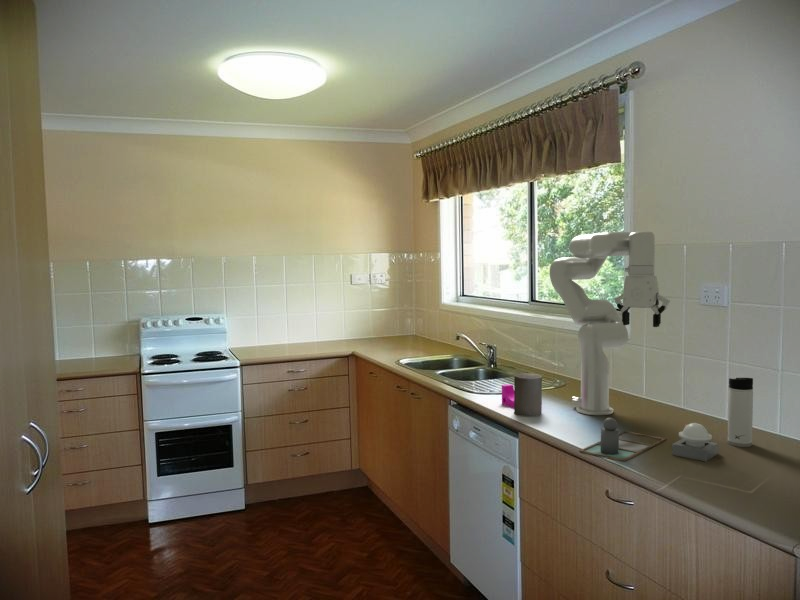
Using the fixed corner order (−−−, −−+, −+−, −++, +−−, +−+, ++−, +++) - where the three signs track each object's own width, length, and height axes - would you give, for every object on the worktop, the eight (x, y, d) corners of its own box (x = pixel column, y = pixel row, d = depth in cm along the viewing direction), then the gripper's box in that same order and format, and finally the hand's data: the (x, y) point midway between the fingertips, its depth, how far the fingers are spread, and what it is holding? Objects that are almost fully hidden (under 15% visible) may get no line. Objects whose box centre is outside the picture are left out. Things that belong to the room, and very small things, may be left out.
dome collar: (672, 454, 178) (672, 444, 178) (684, 447, 184) (684, 437, 184) (705, 461, 172) (706, 450, 171) (717, 453, 178) (718, 443, 178)
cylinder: (597, 452, 180) (598, 417, 179) (605, 448, 184) (606, 414, 183) (613, 455, 177) (614, 421, 176) (621, 451, 180) (622, 417, 180)
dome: (673, 448, 178) (674, 423, 177) (685, 442, 184) (685, 418, 183) (705, 454, 172) (705, 429, 171) (716, 447, 178) (716, 422, 177)
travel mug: (740, 448, 182) (741, 379, 181) (722, 442, 189) (723, 375, 187) (758, 446, 184) (759, 377, 183) (739, 440, 190) (741, 373, 189)
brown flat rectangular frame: (579, 452, 182) (579, 450, 182) (624, 432, 201) (624, 430, 201) (624, 461, 172) (624, 460, 172) (666, 440, 192) (666, 438, 192)
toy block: (539, 411, 231) (539, 390, 230) (525, 413, 228) (525, 392, 228) (515, 403, 244) (515, 383, 244) (501, 405, 242) (501, 385, 241)
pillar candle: (508, 413, 228) (508, 371, 226) (526, 409, 234) (526, 368, 232) (529, 418, 220) (529, 375, 219) (547, 414, 226) (548, 372, 225)
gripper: (609, 271, 204) (609, 325, 205) (664, 271, 191) (663, 328, 192) (620, 271, 209) (620, 323, 210) (674, 271, 197) (673, 326, 198)
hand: (640, 325), depth 201 cm, fingers open, 9 cm apart
